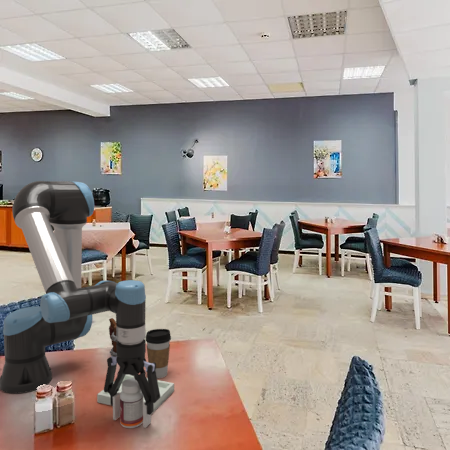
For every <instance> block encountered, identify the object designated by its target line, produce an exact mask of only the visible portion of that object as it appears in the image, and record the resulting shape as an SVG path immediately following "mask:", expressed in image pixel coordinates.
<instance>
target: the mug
mask: <svg viewBox="0 0 450 450" xmlns="http://www.w3.org/2000/svg"><path fill="white" fill-rule="evenodd" d="M108 321H109V323H110V324H109V326H108V332H109V333H108V334H109V339H110V340H111V346H112V348H111V349H110V350H109V354H110V357H111V356H113V355H115V356H116V357H117V348H116V343H117V339H116V319H114V318H113V317H111V318H109V319H108Z"/></svg>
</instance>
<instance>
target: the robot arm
mask: <svg viewBox="0 0 450 450" xmlns="http://www.w3.org/2000/svg"><path fill="white" fill-rule="evenodd" d="M94 210H95V200H94V195H93V193H92V190H91V189H90V187H89V186H88V184H86V183H85V182H81V181H73V180H72V181H70V180H69V181H65V180H64V181H63V180H62V181H59V180H58V181H55V180H53V181H52V180H51V181H50V180H49V181H48V180H47V181H44V180H38V181H37V180H36V181H32V182H30V183H27V184H26V185H25V186H23V187H22V188H21V189H20V190H19V191H18V193H17V194H16V196H15V198H14V200H13V203H12V217H13V221H14V224H15V225H16V226H17V228H19V229H21V230H22V233H23V236H24V238H25V242H26V244H27V246H28V249H29V252H30V254H31V257H32V260H33V262H34V266H35V268H36V271H37V274H38V276H39V279H40V281H41V284H42V286H43V289H44V292H45V293H44V294H43V295H42V296H41V299H40V303H39V305H40V306H39V305H38V306H37V305H35V306H26V307H23V308H19V309H17V310H15V311H12V312H10V313H9V314H8V315H6V316H5V318H4V319H3V328H2V329H3V330H2V334H3V343H4V345H3V349H4V364H3V368H2V373H1V375H0V390H1V391H2V392H3V393H5V394H6V393H8V394H24V393H28V392H29V393H30V392H33V391H36V390H37V389H36V388H37V387H38V386H40V385H43V384H48V385H49V383H50V382H51V381H52V379H53V374H52V373H53V371H52V369H51V367H50V364H49V360H48V359H47V356H46V347H48V346H51V345H52V346H53V345H57V344H60V343H64V342H67V341H72V340H73V341H74V340H77V339H79V338H82V337H85V336H87V335H88V333H90V330H91V328H92V325H93V315H95V314H96V315H97V314H100V313H101V314H102V313H105V312H111V313H114V314H115V321H116V339H117V343H116V348H117V357H116V356H115V355H113V356H111V355H110V356H109V357H108V358H107V359H106V364H107V369H106V373H105V374H106V375H105V380H104V386H103V390H104V392H108V393H109V394H110V396H111V405H110V406H111V407H112V420H113V421H116V420H118V418H119V419H120V392H118V391H119V390H120V389H119V388H120V386H121V384H122V382H123V379H124V377H125V375H131V376H134V378H135V380H137V382H138V384H139V387H140V389H141V392H142V394H143V397H144V399H145V402H144V403H143V422H142V424H143V425H142V427H143V428H144V429H146V428H147V427H149V425H150V424H151V423H152V414H154V412H155V411H154V409H153V408H154V404H153V403H155V402H156V401H157V400H158V399H159V398H160V392H159V387H158V381H157V380H158V378H157V376H156V363H155V362H153V363H149V362H148V361H147V359H146V353H147V342H146V334H147V332H146V299H147V298H146V297H147V295H146V289H145V288H146V287H145V284H144V283H143V282H142V281H141V280H133V279H128V280H122V281H119V282H118V283H117V282H115V281H112V280H107V279H106V280H100V281H99V282H97V283H96V284H95V285H90V286H86V287H85V286H84V287H82V264H83V263H82V262H83V261H82V258H83V256H82V254H83V252H82V251H83V247H82V245H83V240H82V239H83V227H85V225H86V224H87V223H88V218H89V217H91V216H92V215H93V214H94V212H95V211H94ZM117 365H118V367H119V369H118V371H117V373H116V370H117ZM116 375H117V376H116ZM115 376H116V378H115ZM147 379H148V381H147ZM114 381H115V382H114ZM113 383H114V384H113ZM117 392H118V393H117ZM153 411H154V412H153Z"/></svg>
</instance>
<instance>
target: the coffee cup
mask: <svg viewBox="0 0 450 450" xmlns="http://www.w3.org/2000/svg"><path fill="white" fill-rule="evenodd" d="M171 339H172V336H171V331H170V330H169V329H168V328H167V329H166V328H154V329H151V330H148V331H147V332H146V337H145V341H146V353H147V362H149V363H153V362H155V363H156V376H157V379H162V378H163V379H164V378H165V377H166V376H168V372H169V371H168V369H169V357H170V349H171V344H170V341H171Z"/></svg>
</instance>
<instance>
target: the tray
mask: <svg viewBox="0 0 450 450" xmlns="http://www.w3.org/2000/svg"><path fill="white" fill-rule="evenodd" d="M129 378H134V376H131V375H125V377H124V379H123V381H124V380H126V379H129ZM147 381H148V379H147ZM157 381H158V387H159V392H160V398H159V399H158V400H157V401H156V402H155V403H153V404H154V408H153V409H154V411H153V413H155V411H156V410H157V409H159V408H160V407H161V405H163V403H164V402H165V401H166V400H167V399H168V398H169V397H170V396H171V395H172V393H174V392H175V383H174V382H171V381H170V382H168V381H164V380H159V379H157ZM114 382H115V380H114ZM113 384H114V383H113ZM119 389H120V390H119V391H118V392H120V393H121V392H122V384H121V386H120V388H119ZM118 392H117V393H118ZM96 398H97V399H96V401H97V403H99V404H103V405H106V406H107V405H108V406H111V396H110V394H109V393H108V392H104V389H102V390H101V391H99V392H98V393H97V395H96ZM144 402H145V399H144V397H143V403H144Z"/></svg>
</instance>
